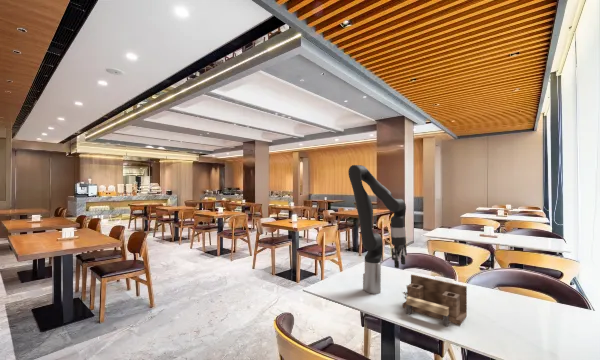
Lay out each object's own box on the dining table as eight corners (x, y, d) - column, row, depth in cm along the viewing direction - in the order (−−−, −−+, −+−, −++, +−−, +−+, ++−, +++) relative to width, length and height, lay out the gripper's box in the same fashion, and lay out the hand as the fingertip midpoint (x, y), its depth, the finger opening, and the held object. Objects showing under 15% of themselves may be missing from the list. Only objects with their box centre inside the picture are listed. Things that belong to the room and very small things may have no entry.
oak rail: (406, 313, 136) (406, 298, 136) (408, 311, 138) (408, 296, 138) (447, 326, 124) (447, 309, 124) (449, 324, 126) (449, 307, 126)
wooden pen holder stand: (402, 307, 143) (402, 279, 143) (411, 300, 152) (411, 274, 152) (460, 325, 125) (460, 293, 125) (466, 315, 134) (466, 286, 134)
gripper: (397, 233, 161) (398, 262, 160) (386, 236, 150) (387, 267, 149) (410, 234, 156) (412, 264, 155) (399, 237, 145) (401, 269, 144)
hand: (400, 266), depth 152 cm, fingers open, 8 cm apart
